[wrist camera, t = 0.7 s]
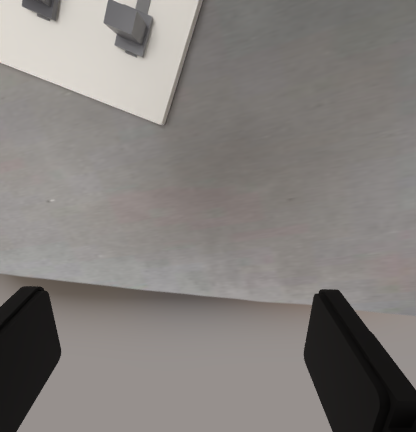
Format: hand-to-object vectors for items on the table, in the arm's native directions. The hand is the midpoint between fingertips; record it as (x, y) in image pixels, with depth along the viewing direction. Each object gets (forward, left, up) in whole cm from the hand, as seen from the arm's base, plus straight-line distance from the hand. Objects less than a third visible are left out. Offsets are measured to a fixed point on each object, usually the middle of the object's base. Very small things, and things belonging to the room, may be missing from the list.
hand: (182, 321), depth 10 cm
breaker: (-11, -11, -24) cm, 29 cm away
